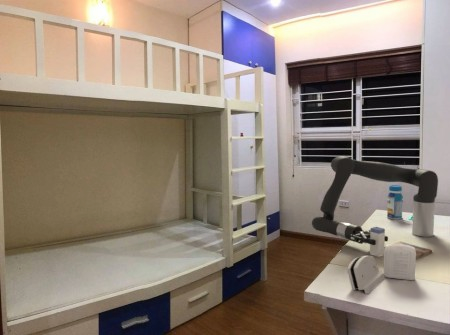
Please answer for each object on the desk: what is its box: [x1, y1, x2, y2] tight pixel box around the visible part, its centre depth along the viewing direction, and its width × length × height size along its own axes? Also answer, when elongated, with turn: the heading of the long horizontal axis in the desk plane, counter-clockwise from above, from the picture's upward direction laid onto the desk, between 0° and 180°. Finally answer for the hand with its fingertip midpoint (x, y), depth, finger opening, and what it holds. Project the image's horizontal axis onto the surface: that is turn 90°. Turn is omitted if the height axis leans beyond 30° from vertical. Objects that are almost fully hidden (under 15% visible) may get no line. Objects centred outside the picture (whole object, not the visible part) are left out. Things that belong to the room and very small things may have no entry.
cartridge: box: [369, 226, 386, 258], centre depth 140 cm, size 4×4×12 cm
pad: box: [384, 241, 433, 260], centre depth 143 cm, size 14×14×1 cm
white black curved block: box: [346, 255, 385, 295], centre depth 114 cm, size 17×5×10 cm, turn 135°
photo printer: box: [382, 243, 417, 281], centre depth 117 cm, size 10×4×12 cm, turn 73°
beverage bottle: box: [386, 184, 404, 220], centre depth 199 cm, size 8×8×20 cm
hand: (381, 240), depth 138 cm, fingers open, 8 cm apart
